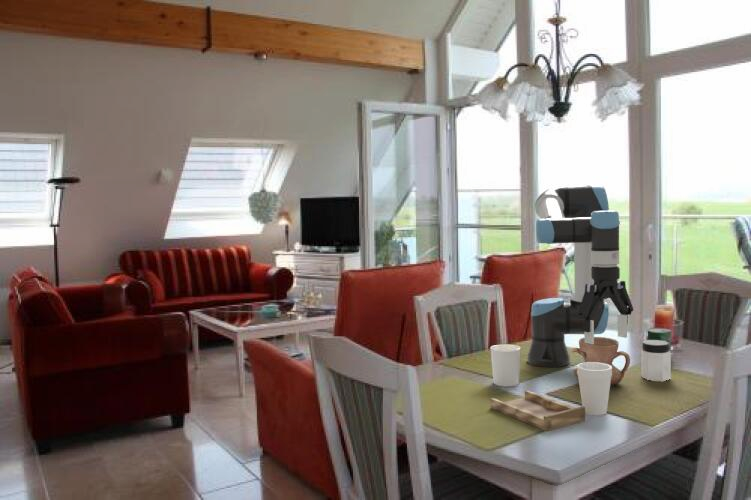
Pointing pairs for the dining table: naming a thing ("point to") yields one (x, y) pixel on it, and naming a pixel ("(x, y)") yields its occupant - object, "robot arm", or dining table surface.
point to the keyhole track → (540, 411)
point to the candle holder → (505, 364)
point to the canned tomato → (660, 335)
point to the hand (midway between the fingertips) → (606, 340)
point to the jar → (655, 360)
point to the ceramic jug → (603, 355)
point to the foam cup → (594, 386)
